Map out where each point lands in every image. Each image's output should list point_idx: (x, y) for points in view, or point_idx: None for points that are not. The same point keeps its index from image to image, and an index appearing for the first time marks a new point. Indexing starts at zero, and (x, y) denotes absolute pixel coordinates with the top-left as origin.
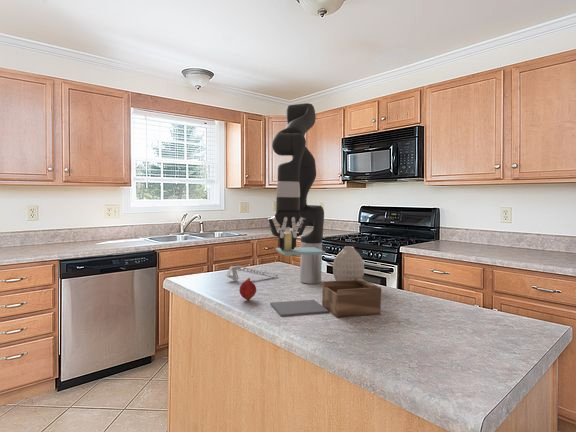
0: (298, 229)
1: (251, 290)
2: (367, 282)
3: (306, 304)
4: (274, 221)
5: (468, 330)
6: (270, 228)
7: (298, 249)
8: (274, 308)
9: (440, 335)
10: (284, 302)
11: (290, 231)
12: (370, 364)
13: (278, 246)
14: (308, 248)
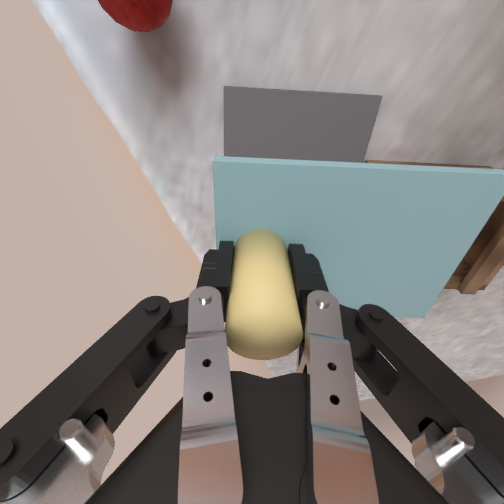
0: (386, 355)
1: (145, 30)
2: (489, 265)
3: (326, 144)
4: (97, 465)
5: (482, 332)
6: (91, 356)
7: (338, 244)
8: (224, 144)
9: (425, 334)
10: (270, 100)
11: (307, 329)
12: (276, 361)
13: (207, 252)
14: (426, 221)
